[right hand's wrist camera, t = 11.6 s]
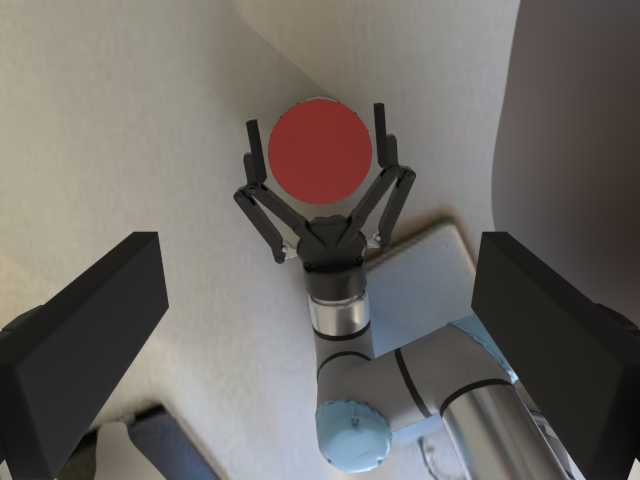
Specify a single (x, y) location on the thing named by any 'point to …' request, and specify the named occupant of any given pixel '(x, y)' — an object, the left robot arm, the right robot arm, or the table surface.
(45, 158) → the table surface
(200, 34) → the table surface
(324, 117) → the lid
